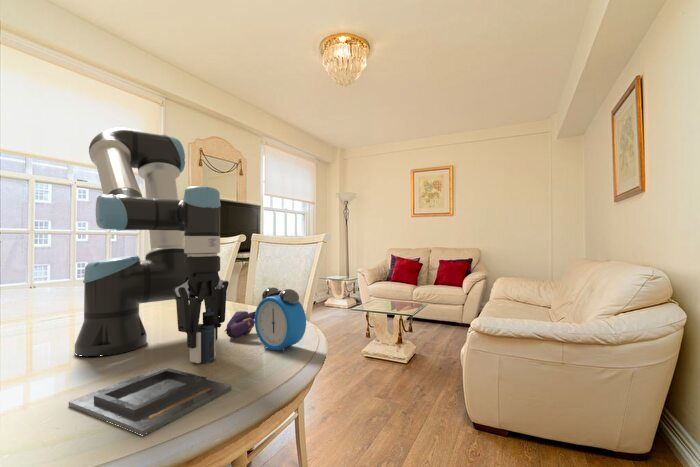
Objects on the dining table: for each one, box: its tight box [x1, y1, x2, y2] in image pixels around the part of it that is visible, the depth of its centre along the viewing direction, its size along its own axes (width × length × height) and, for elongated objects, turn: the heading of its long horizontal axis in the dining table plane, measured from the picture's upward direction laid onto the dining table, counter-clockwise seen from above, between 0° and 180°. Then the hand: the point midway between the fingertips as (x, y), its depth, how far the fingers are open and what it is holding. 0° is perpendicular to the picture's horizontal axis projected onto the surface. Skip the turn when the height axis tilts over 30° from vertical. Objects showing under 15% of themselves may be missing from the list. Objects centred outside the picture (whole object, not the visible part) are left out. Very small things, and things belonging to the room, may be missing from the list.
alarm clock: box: [254, 286, 307, 353], centre depth 84 cm, size 13×6×15 cm, turn 55°
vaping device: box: [197, 308, 215, 364], centre depth 75 cm, size 3×5×12 cm, turn 78°
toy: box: [223, 310, 256, 339], centre depth 95 cm, size 11×12×7 cm
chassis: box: [68, 367, 232, 436], centre depth 58 cm, size 20×16×2 cm
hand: (202, 358), depth 75 cm, fingers closed on vaping device, 3 cm apart
